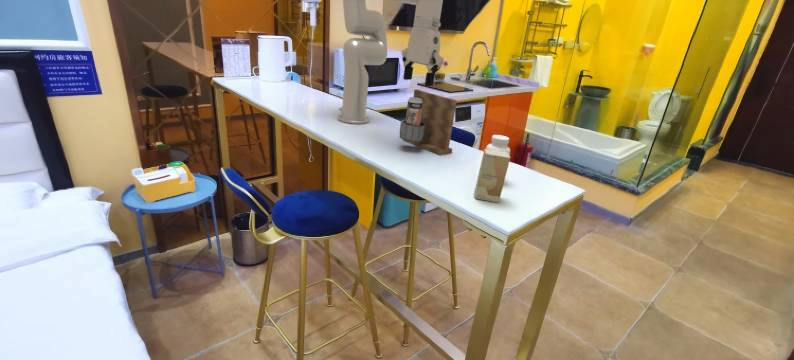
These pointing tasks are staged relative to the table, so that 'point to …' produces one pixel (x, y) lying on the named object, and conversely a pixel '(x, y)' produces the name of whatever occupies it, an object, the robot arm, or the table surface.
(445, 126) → the cup bracket
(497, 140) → the supplement bottle
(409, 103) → the beer can
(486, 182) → the skincare box
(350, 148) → the table surface
